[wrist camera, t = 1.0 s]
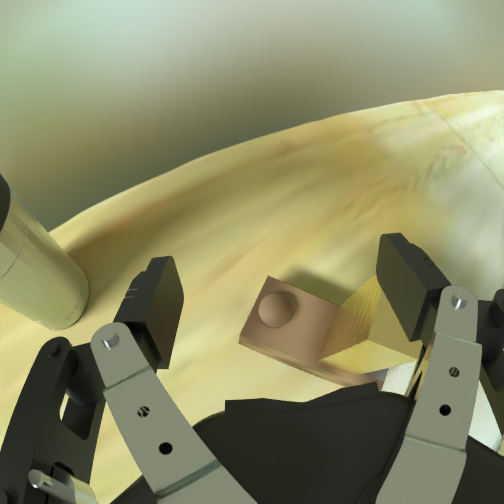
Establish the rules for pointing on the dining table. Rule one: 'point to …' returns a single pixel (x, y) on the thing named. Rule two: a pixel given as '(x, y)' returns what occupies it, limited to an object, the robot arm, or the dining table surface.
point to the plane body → (296, 332)
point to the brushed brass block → (367, 334)
